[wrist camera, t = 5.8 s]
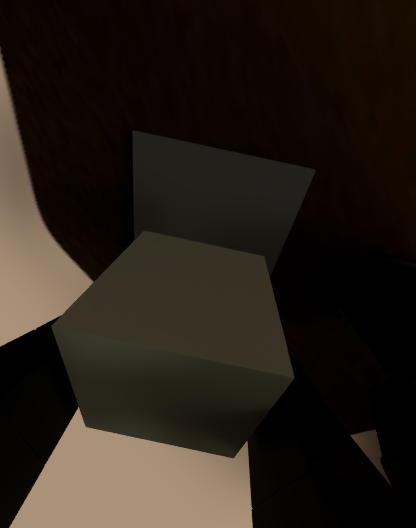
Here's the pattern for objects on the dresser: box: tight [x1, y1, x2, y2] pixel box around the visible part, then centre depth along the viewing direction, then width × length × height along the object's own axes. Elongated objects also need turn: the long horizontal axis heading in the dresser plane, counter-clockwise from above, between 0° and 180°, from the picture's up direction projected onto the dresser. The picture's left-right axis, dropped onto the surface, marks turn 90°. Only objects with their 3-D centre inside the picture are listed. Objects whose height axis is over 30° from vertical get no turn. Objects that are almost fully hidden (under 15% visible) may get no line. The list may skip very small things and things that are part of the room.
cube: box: [51, 231, 294, 458], centre depth 8 cm, size 5×5×5 cm
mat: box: [132, 130, 316, 277], centre depth 15 cm, size 11×11×1 cm
